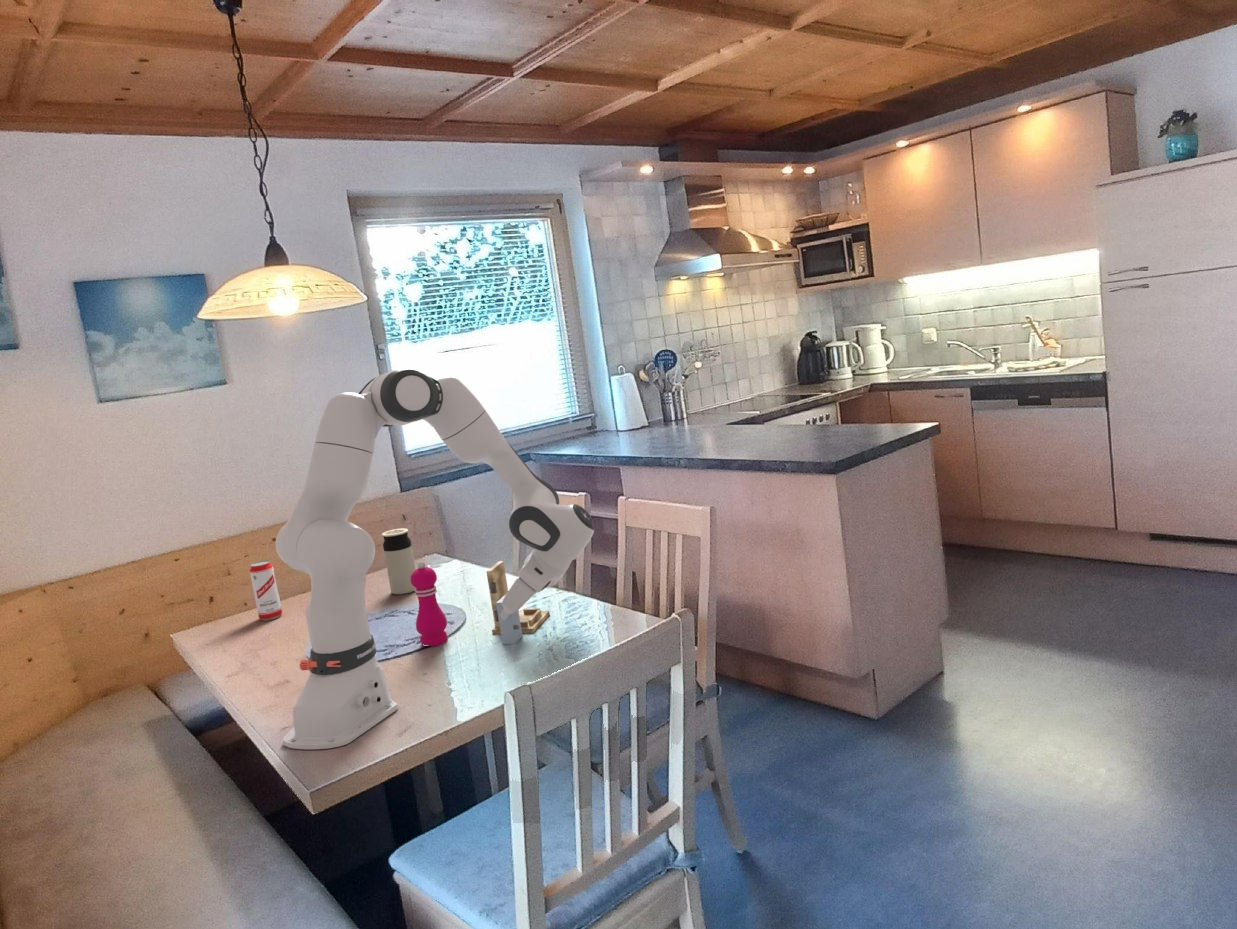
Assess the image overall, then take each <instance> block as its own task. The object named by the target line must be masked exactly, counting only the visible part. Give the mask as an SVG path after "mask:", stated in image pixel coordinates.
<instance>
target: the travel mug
mask: <svg viewBox="0 0 1237 929" xmlns="http://www.w3.org/2000/svg"><path fill="white" fill-rule="evenodd" d="M408 532H409V529H408V528H403V527H402V528H393V529H390V530H387V531H384V532H382V533H381V535H382V537H383V539H384V541H383V544H382V549H383V553H384V559H385V564H386V570H387V577H388V582H389V589H390V593H391V594H393V595H396V596H398V595H399V596H400V595H406V594H410V593H413V592H415V589H416V588H415V587H414V586H413V585H412V584H411V575H412V573H413V572H414V571H415V570H416V569H417V567H416V562H415V556H414V551H413V546H412V544H413V543H412V540H411V538H410V537H409V535H408Z"/></svg>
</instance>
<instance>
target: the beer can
mask: <svg viewBox="0 0 1237 929" xmlns="http://www.w3.org/2000/svg"><path fill="white" fill-rule="evenodd" d="M249 575H250V580H251V586H252V590H253V595H254V600H255V605H256V610H257V615H258V618H259V619H260V620H262V621H265V622H267V621H273V620H276V619H278V618H280V617H281V615H282V614H283V609H282V604H281V598H280V594H279V588H278V583H277V579H276V574H275V569H274V565H273V564H272V563H271V561H270V560H261V561H256V562H254V563H251V564H250V569H249Z"/></svg>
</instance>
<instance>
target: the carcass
mask: <svg viewBox="0 0 1237 929" xmlns="http://www.w3.org/2000/svg"><path fill="white" fill-rule="evenodd" d="M486 576H487V585H488V590H489V596H490V603H491V610H492V616H493V622H494V623H493V624H494V627H493V628H492V629H491V633H492V635H501V631H500V625H499V619H498V612H497V606H496V602H497V601H499V600H500V599H501V598H502V597H503V596H504V595H506V594H507V593H508V591H509V589H508V588H509V587H508V582H507V575H506V567H505V562H504V560H498V561H497V562H496V563H495V564H494V565H492V566H491V567H490V568H489V569H486ZM549 616H550V610H541V609H540V608H539V607H538V608H524V609H523V611H519V617H520V623H521V630H522V634H534V632H536V630H537V629H538V628H539V627H540V626H541V625H542V624H543V623H544V621H546V620H547V618H548V617H549Z"/></svg>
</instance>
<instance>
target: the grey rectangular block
mask: <svg viewBox="0 0 1237 929" xmlns="http://www.w3.org/2000/svg"><path fill="white" fill-rule="evenodd" d="M505 596H506V595H504V596H503V597H502V598H501V599H500V600H499V601H497V602H496V606H497V612H498V619H499V625H500V631H501V634H500V637H501V643H502V645H515V644H517V642H518V641H519V640H520V639H521V637H523V633H522V630H521V623H520V617H519V612H520V611H519V610H520V609H519V610H518V611H516V612H515V613H514V614H512V613H511V614H510V615H509V616H508V618H507V619H505V620H503V619H502V618H501V617H500V616H499V615H500V613H501V612H502V610H503V609H504V607H503V606H502V601H503V599H504V597H505Z"/></svg>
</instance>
